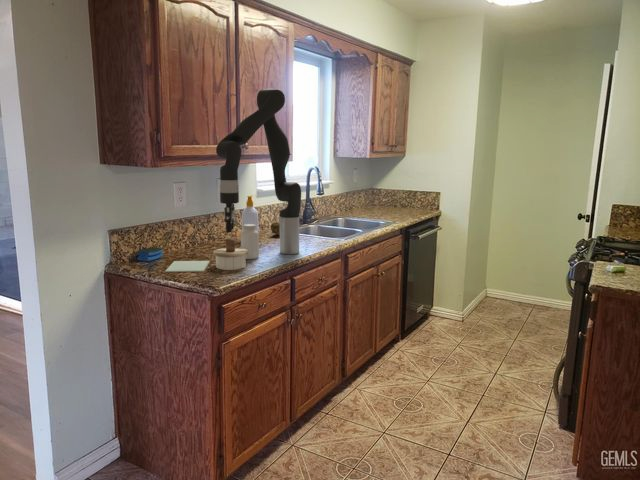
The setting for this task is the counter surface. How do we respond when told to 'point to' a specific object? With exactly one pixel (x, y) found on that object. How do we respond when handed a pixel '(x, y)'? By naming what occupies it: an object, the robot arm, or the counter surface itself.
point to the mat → (187, 266)
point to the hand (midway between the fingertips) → (230, 230)
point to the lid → (230, 250)
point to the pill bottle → (250, 241)
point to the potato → (275, 228)
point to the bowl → (230, 262)
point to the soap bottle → (250, 214)
